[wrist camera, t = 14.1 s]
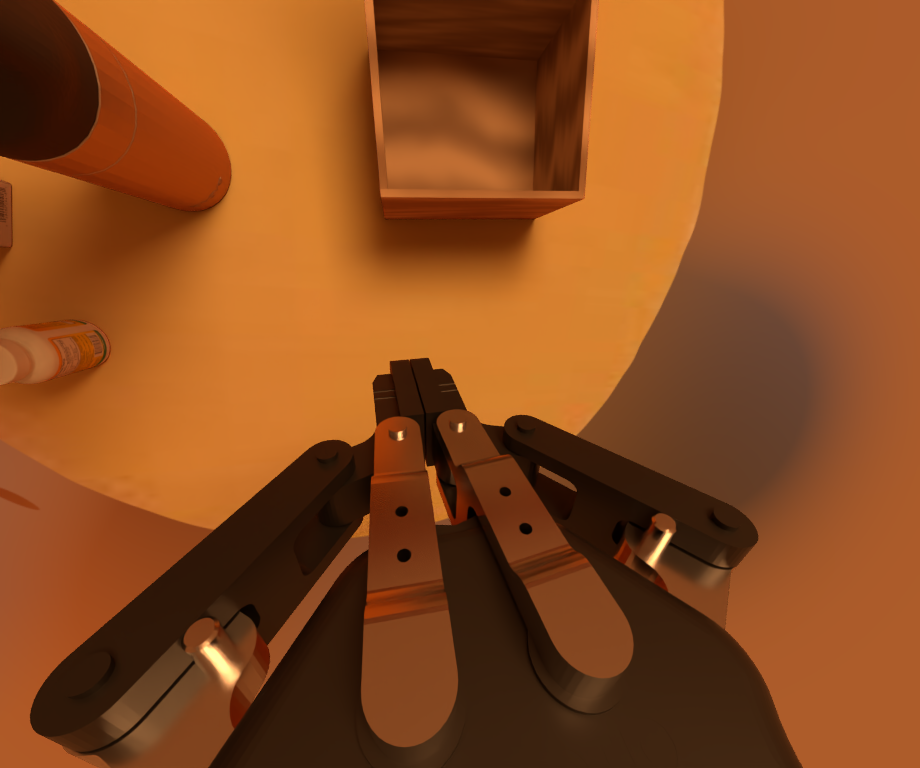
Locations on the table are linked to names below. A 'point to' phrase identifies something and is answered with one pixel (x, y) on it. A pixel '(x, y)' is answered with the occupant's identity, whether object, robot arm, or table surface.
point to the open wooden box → (481, 105)
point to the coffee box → (5, 214)
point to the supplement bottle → (50, 350)
